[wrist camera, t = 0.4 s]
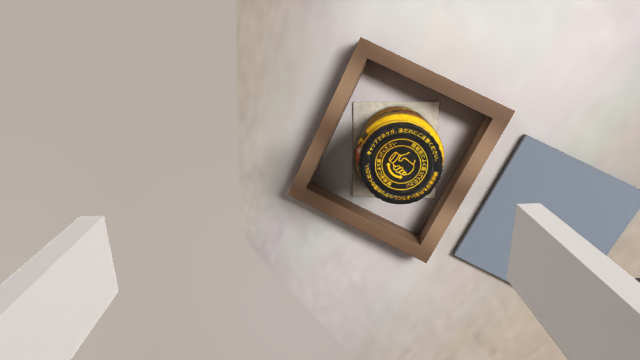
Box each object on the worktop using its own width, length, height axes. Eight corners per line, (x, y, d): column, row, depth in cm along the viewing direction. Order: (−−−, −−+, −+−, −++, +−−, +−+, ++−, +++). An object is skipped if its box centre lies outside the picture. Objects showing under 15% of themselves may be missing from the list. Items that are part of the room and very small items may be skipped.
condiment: (439, 101, 38) (461, 111, 27) (434, 197, 40) (453, 246, 29) (353, 101, 39) (338, 111, 28) (352, 195, 41) (339, 241, 30)
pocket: (362, 39, 38) (360, 37, 36) (507, 109, 38) (515, 111, 35) (293, 187, 42) (287, 194, 39) (424, 252, 41) (426, 263, 39)
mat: (524, 134, 38) (526, 135, 37) (645, 192, 37) (649, 194, 37) (453, 252, 41) (454, 255, 40) (564, 307, 40) (567, 311, 40)
